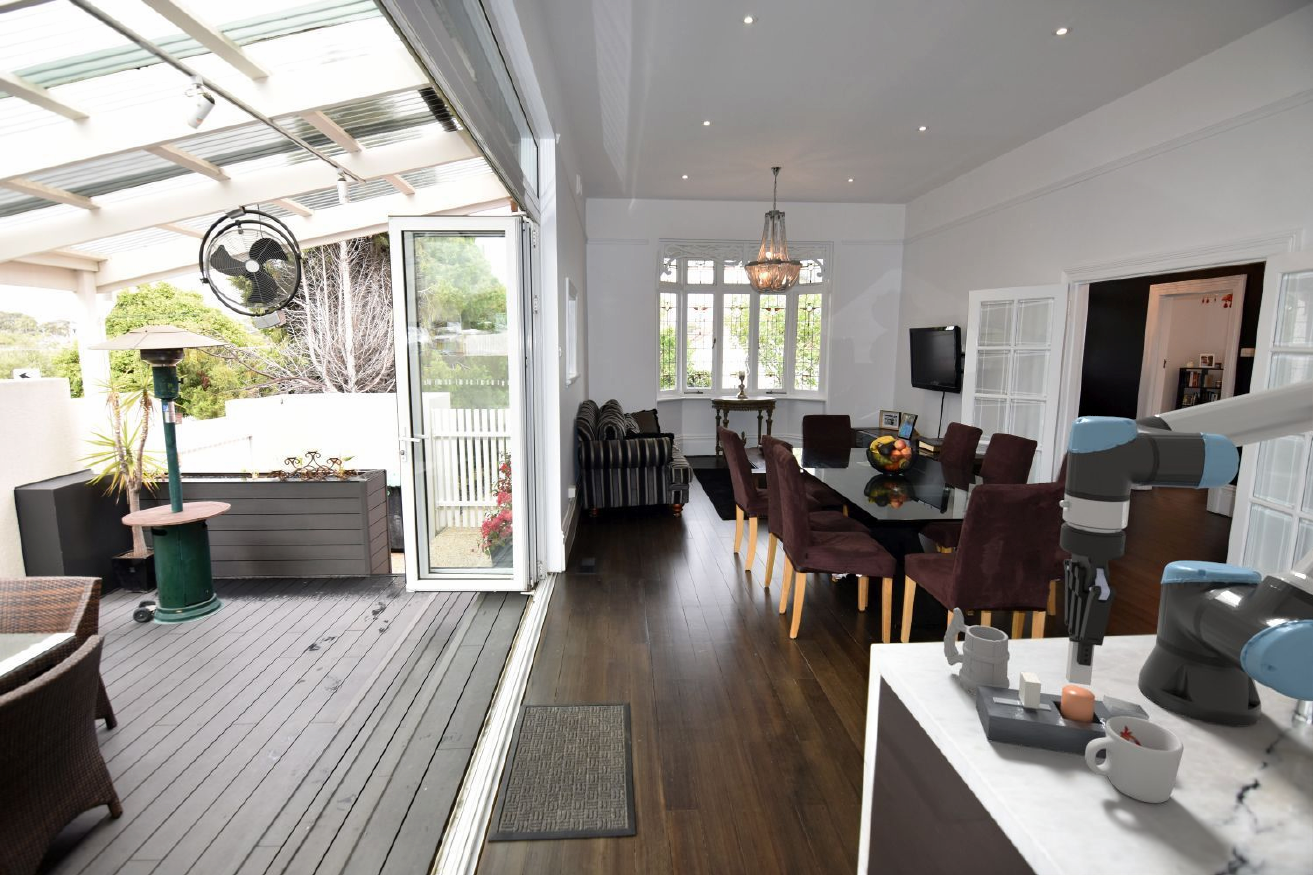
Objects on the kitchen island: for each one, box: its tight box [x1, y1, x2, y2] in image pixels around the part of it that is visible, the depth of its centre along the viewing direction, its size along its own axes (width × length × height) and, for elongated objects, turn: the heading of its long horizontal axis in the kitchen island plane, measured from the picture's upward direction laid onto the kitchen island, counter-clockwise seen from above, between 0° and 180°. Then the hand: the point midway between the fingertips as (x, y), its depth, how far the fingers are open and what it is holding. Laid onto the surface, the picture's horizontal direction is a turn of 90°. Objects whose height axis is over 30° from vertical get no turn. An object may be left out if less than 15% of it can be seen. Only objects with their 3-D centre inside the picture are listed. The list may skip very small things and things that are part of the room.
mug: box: [943, 607, 1010, 696], centre depth 107 cm, size 8×12×12 cm, turn 26°
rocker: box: [1101, 695, 1150, 721], centre depth 90 cm, size 5×3×1 cm, turn 73°
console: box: [975, 684, 1119, 760], centre depth 93 cm, size 21×9×5 cm, turn 73°
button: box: [1060, 684, 1096, 723], centre depth 92 cm, size 4×4×5 cm
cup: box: [1084, 716, 1184, 804], centre depth 81 cm, size 11×8×8 cm
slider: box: [1018, 671, 1042, 709], centre depth 93 cm, size 2×3×4 cm, turn 163°
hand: (1078, 681), depth 91 cm, fingers closed
